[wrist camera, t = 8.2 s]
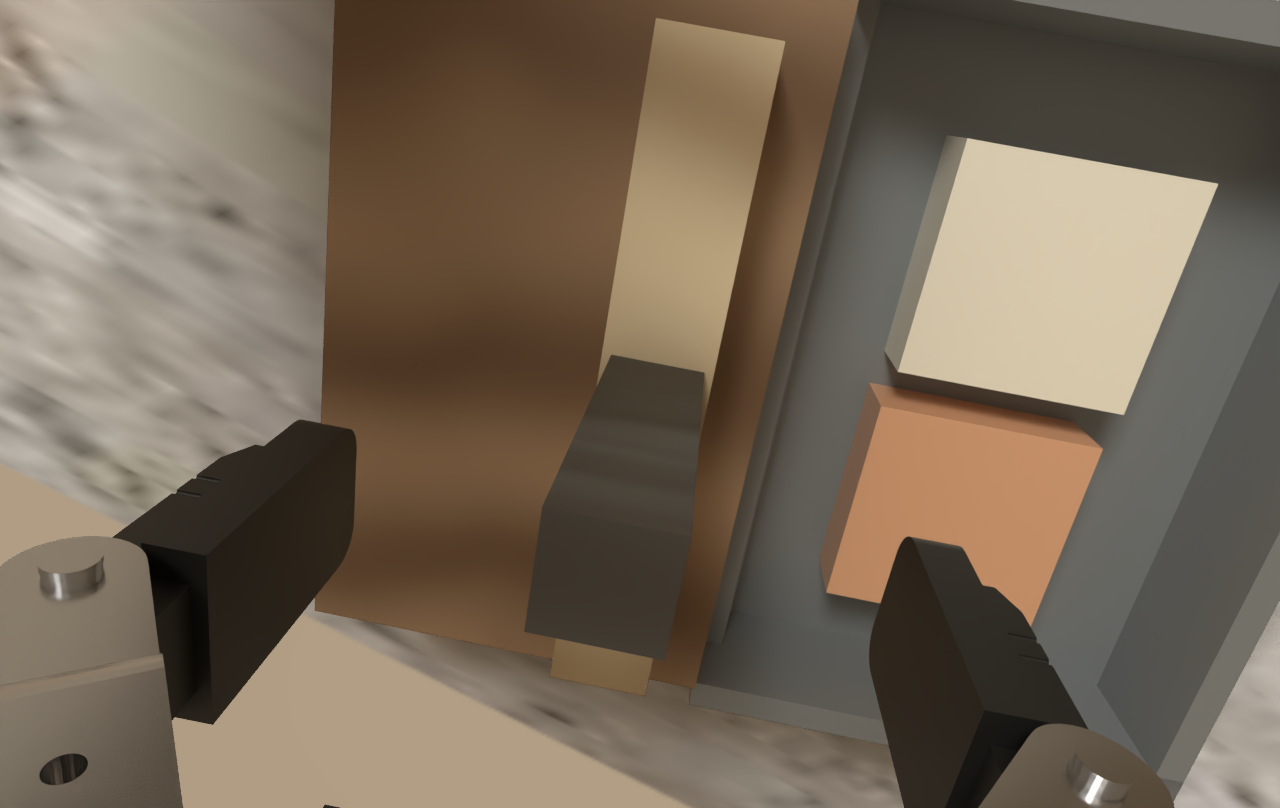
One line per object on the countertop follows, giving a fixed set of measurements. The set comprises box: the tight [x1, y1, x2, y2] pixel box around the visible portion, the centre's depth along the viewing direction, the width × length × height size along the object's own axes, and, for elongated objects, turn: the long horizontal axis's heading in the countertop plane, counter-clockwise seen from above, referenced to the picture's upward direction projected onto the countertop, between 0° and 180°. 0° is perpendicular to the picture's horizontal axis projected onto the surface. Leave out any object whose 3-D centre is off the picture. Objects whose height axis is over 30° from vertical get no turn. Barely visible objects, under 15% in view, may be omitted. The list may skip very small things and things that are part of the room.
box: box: [689, 0, 1280, 801], centre depth 22 cm, size 20×14×4 cm
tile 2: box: [884, 135, 1218, 415], centre depth 22 cm, size 6×6×2 cm
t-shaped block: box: [524, 18, 785, 696], centre depth 16 cm, size 15×2×10 cm, turn 170°
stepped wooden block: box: [315, 0, 859, 688], centre depth 22 cm, size 18×11×5 cm, turn 170°
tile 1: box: [819, 383, 1103, 627], centre depth 24 cm, size 6×6×2 cm
